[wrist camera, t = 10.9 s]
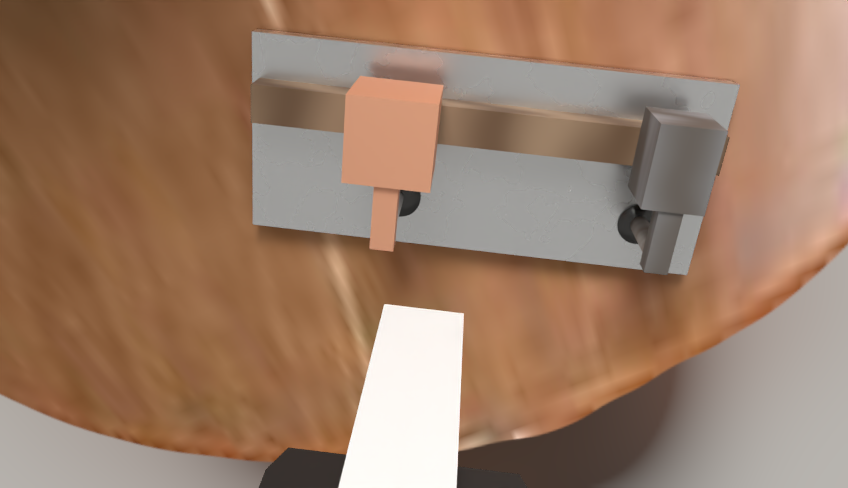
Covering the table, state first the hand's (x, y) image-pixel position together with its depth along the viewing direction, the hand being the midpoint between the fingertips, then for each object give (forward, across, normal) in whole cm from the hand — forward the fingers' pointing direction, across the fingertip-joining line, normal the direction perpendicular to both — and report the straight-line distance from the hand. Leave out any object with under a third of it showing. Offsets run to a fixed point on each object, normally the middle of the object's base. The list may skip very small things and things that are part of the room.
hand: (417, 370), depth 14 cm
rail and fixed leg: (+33, +2, -6) cm, 34 cm away
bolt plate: (+34, +2, -6) cm, 35 cm away
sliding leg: (+33, -3, -6) cm, 33 cm away
